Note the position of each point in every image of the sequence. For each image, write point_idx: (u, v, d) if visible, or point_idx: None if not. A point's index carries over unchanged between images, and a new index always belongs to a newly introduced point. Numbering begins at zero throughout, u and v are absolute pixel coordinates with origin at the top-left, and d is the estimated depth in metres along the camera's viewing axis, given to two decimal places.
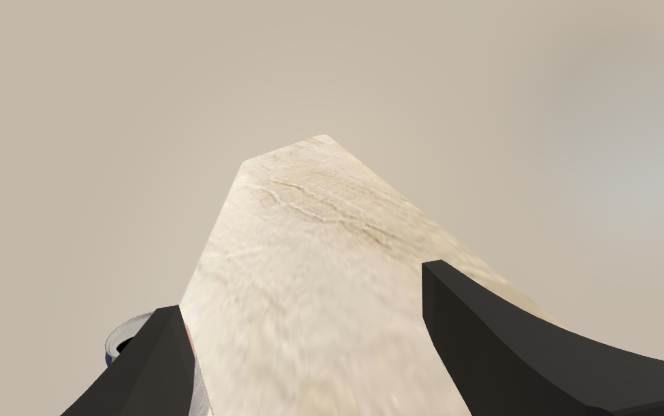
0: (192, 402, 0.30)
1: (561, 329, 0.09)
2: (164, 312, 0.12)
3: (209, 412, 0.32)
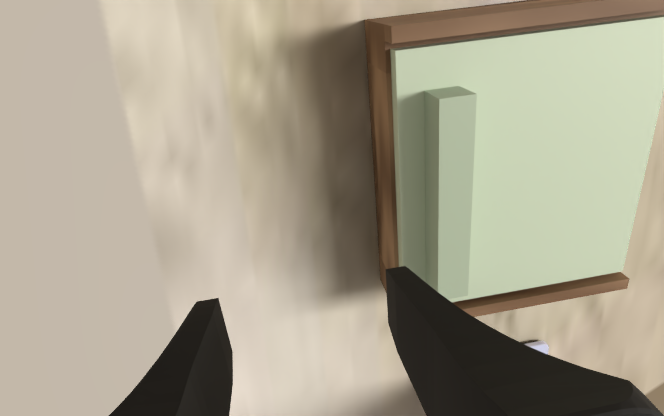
0: None
1: (509, 339, 0.09)
2: (205, 304, 0.12)
3: None
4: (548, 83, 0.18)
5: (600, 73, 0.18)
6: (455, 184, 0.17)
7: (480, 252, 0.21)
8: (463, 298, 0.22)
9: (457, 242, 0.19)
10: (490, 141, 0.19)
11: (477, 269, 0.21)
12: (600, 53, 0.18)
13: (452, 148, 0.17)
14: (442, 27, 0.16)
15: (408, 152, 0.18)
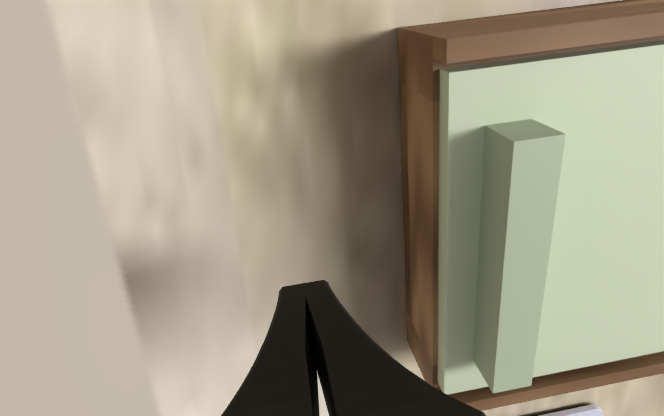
0: None
1: (393, 361, 0.09)
2: (294, 289, 0.12)
3: None
4: (649, 114, 0.13)
5: None
6: (526, 252, 0.13)
7: (543, 324, 0.17)
8: None
9: (523, 323, 0.14)
10: (567, 189, 0.14)
11: (538, 344, 0.17)
12: None
13: (526, 206, 0.12)
14: (517, 40, 0.12)
15: (459, 205, 0.14)
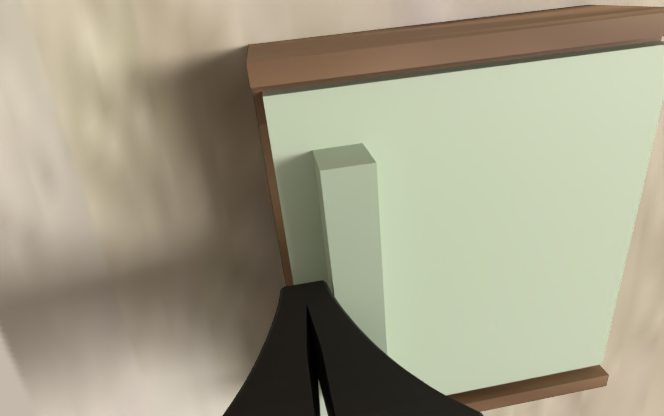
0: None
1: (391, 362, 0.09)
2: (294, 289, 0.12)
3: None
4: (491, 137, 0.13)
5: (564, 123, 0.13)
6: (357, 282, 0.12)
7: (412, 349, 0.16)
8: None
9: None
10: (414, 214, 0.14)
11: (409, 369, 0.16)
12: (563, 96, 0.13)
13: (347, 236, 0.12)
14: (324, 64, 0.11)
15: (298, 231, 0.13)
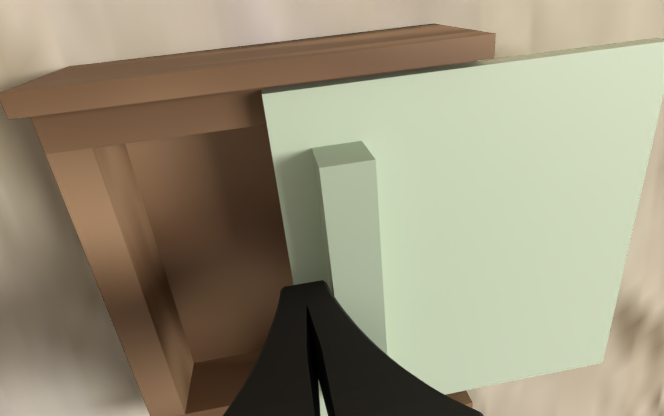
0: None
1: (391, 362, 0.09)
2: (294, 289, 0.12)
3: None
4: (491, 135, 0.13)
5: (564, 120, 0.13)
6: (356, 280, 0.12)
7: (412, 348, 0.16)
8: None
9: None
10: (414, 212, 0.14)
11: (410, 368, 0.16)
12: (562, 94, 0.13)
13: (347, 233, 0.12)
14: (86, 94, 0.10)
15: (298, 229, 0.13)
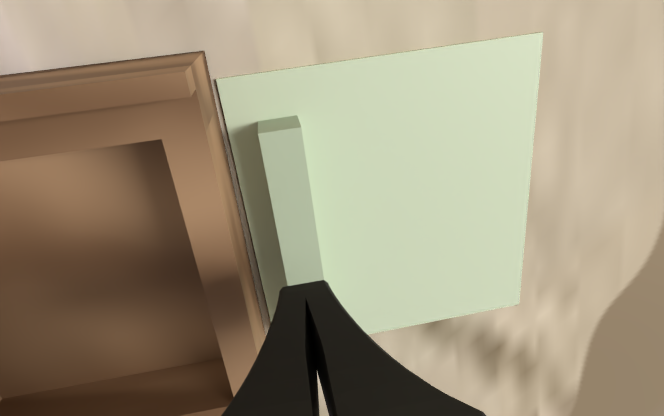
0: None
1: (392, 361, 0.09)
2: (294, 290, 0.12)
3: None
4: (401, 109, 0.16)
5: (459, 97, 0.16)
6: (295, 224, 0.16)
7: (353, 289, 0.19)
8: None
9: None
10: (344, 173, 0.17)
11: (353, 307, 0.20)
12: (456, 76, 0.16)
13: (284, 186, 0.15)
14: None
15: (251, 187, 0.17)
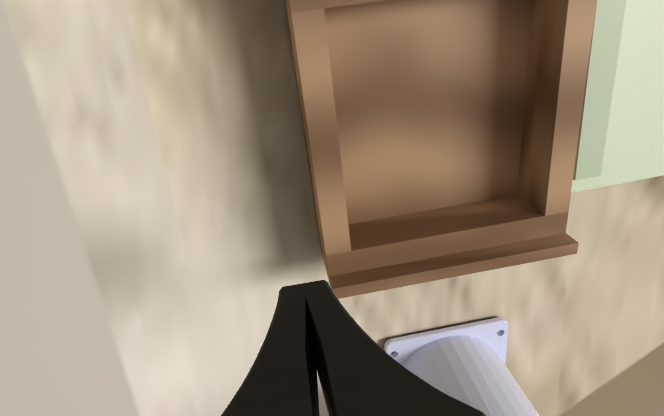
0: None
1: (392, 361, 0.09)
2: (293, 289, 0.12)
3: None
4: None
5: None
6: (602, 68, 0.21)
7: (605, 143, 0.24)
8: (586, 188, 0.25)
9: (597, 124, 0.22)
10: (624, 36, 0.22)
11: None
12: None
13: (603, 34, 0.20)
14: None
15: None
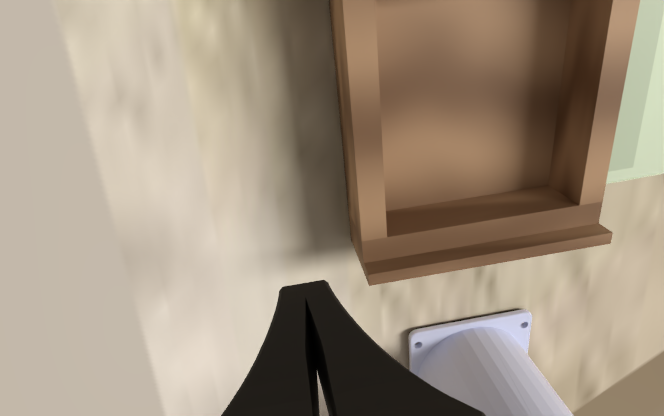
0: None
1: (393, 361, 0.09)
2: (294, 289, 0.12)
3: None
4: None
5: None
6: (640, 59, 0.21)
7: None
8: (615, 180, 0.25)
9: (633, 114, 0.22)
10: (660, 28, 0.22)
11: None
12: None
13: (643, 24, 0.20)
14: None
15: None
